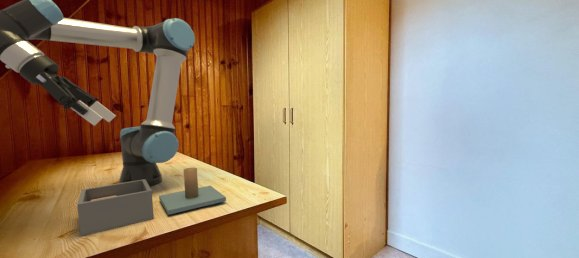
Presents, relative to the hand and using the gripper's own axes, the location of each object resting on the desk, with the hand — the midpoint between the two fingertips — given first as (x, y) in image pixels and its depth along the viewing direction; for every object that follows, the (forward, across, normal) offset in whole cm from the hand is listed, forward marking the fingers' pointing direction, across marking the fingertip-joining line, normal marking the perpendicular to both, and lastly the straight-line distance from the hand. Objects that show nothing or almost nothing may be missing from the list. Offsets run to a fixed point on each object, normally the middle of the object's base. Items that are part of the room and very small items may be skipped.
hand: (106, 120), depth 74 cm
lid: (+34, 0, -3) cm, 34 cm away
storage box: (+21, +4, -18) cm, 28 cm away
